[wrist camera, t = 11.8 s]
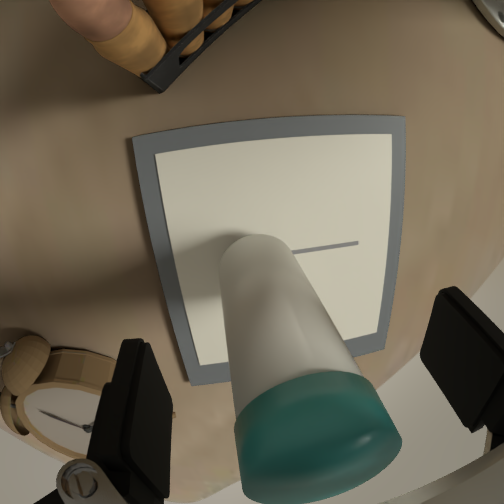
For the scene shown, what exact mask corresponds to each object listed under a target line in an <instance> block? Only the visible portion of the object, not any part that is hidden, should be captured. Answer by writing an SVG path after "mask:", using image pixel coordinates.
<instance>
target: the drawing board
mask: <svg viewBox="0 0 504 504" xmlns="http://www.w3.org/2000/svg"><path fill="white" fill-rule="evenodd" d="M132 140H133V147H134V153H135V160H136V166H137V171H138V177H139V183H140V188H141V194H142V199H143V204H144V209H145V214H146V219H147V224H148V228H149V233H150V237H151V242H152V246H153V251H154V255H155V259H156V264H157V268H158V272H159V276H160V280H161V284H162V288H163V292H164V296H165V299H166V303H167V307H168V310H169V314H170V318H171V321H172V325H173V328H174V332H175V335H176V339H177V342H178V345H179V349H180V352H181V355H182V358H183V362H184V365H185V368H186V371H187V374H188V377H189V380H190V383H191V386H197V385H206V384H214V383H222V382H229V381H231V376H230V368H229V360H228V352H227V344H226V335H225V327H224V318H223V309H222V300H221V290H220V281H219V264H220V261H221V258H222V256H223V254H224V253H225V251H226V250H227V249H228V248H229V247H230V246H231V245H232V244H233V243H234V242H236V241H237V240H239V239H241V238H243V237H246V236H249V235H254V234H266V235H271V236H274V237H276V238H278V239H280V240H282V241H283V242H284V243H285V244H286V245H287V246H288V247H289V248H290V250H291V251H292V253H293V255H294V256H295V258H296V260H297V261H298V263H299V265H300V266H301V268H302V270H303V271H304V273H305V275H306V276H307V278H308V280H309V282H310V283H311V285H312V287H313V288H314V290H315V292H316V294H317V295H318V297H319V299H320V300H321V302H322V304H323V306H324V307H325V309H326V311H327V313H328V314H329V316H330V318H331V319H332V321H333V323H334V325H335V326H336V328H337V330H338V332H339V334H340V335H341V337H342V339H343V341H344V342H345V344H346V346H347V348H348V349H349V351H350V353H351V355H352V357H357V356H361V355H365V354H368V353H372V352H376V351H379V350H383V349H384V347H385V342H386V338H387V332H388V327H389V322H390V316H391V310H392V304H393V298H394V292H395V285H396V278H397V270H398V262H399V254H400V244H401V234H402V222H403V209H404V191H405V161H406V129H405V116H390V115H312V116H291V117H275V118H262V119H251V120H240V121H231V122H222V123H214V124H207V125H199V126H192V127H186V128H179V129H173V130H167V131H161V132H156V133H150V134H145V135H140V136H135V137H132Z"/></svg>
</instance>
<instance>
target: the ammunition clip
mask: <svg viewBox="0 0 504 504" xmlns="http://www.w3.org/2000/svg"><path fill="white" fill-rule="evenodd" d="M49 1H50V3H51V5H52V7H53V8H54V10H55V11H56V12H57V14H58V15H59V16H60V17H61V18H62V20H63V21H64V22H65V23H67V24H68V25H69V26H70V27H71V28H72V29H73V30H74V31H76V32H77V33H79V34H81V35H82V36H83V37H84V38H85V39H86V40H87V41H89V42H90V43H91V44H92V45H93V47H94V48H95V49H96V51H97V52H98V53H99V54H100V55H101V56H102V57H104V58H106V59H107V60H109V61H111V62H113V63H115V64H117V65H119V66H121V67H122V68H124V69H126V70H128V71H130V72H132V73H133V74H135V75H137V76H138V77H140V78H141V79H142V80H143V81H145V82H146V83H147V84H148V85H149V86H151V87H152V88H153V89H154V90H156V91H157V92H158V93H159V94H160V93H163V92H164V91H165V90H166V89H167V88H168V87H169V86H170V85H171V84H172V83H173V81H174V80H175V79H176V78H177V77H178V76H179V75H180V74H181V73H182V72H183V71H184V70H185V69H186V68H187V67H188V66H189V65H190V64H191V63H192V62H193V61H194V60H195V59H196V58H197V57H198V56H199V55H200V54H201V53H202V52H203V51H204V50H205V49H206V48H207V47H208V46H209V45H211V44H212V43H213V42H214V41H215V40H216V39H217V38H218V37H219V36H220V35H221V34H222V33H224V32H225V31H226V30H227V29H228V28H229V27H230V26H232V25H233V24H234V23H235V22H236V21H237V20H238V19H240V18H241V17H242V16H243V15H244V14H246V13H247V12H248V11H249V10H250V9H252V8H253V7H254V6H255V5H257V4H258V3H259V2H260V1H262V0H142V1H143V3H144V5H145V6H146V8H147V10H146V11H145V10H144V9H142V8H141V7H138V6H136V5H134V4H133V3H132V1H131V0H49Z"/></svg>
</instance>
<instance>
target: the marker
mask: <svg viewBox="0 0 504 504" xmlns="http://www.w3.org/2000/svg"><path fill="white" fill-rule="evenodd" d="M219 281H220V290H221V300H222V309H223V318H224V327H225V335H226V344H227V352H228V360H229V368H230V376H231V384H232V392H233V399H234V407H235V414H236V422H235V426H234V433H235V441H236V448H237V455H238V462H239V469H240V476H241V483H242V489H243V492H244V494H245V495H246V496H247V497H248V498H249V499H251V500H253V501H256V502H259V503H262V504H304V503H310V502H315V501H319V500H323V499H327V498H330V497H333V496H336V495H339V494H341V493H344V492H346V491H348V490H351V489H353V488H355V487H357V486H358V485H361V484H363V483H364V482H366V481H368V480H369V479H371V478H373V477H374V476H376V475H377V474H378V473H380V472H381V471H382V470H383V469H385V468H386V467H387V466H388V465H389V464H390V463H391V462H392V461H393V460H394V458H395V457H396V456H397V454H398V453H399V451H400V449H401V446H402V438H401V436H400V435H399V433H398V431H397V429H396V427H395V425H394V423H393V422H392V420H391V418H390V416H389V414H388V413H387V410H386V409H385V407H384V405H383V403H382V401H381V400H380V398H379V396H378V394H377V392H376V390H375V389H374V387H373V385H372V384H371V383H370V382H369V380H367V379H366V378H364V376H363V375H362V373H361V371H360V369H359V367H358V366H357V364H356V362H355V360H354V358H353V357H352V355H351V353H350V351H349V349H348V348H347V346H346V344H345V342H344V341H343V339H342V337H341V335H340V334H339V332H338V330H337V328H336V326H335V325H334V323H333V321H332V319H331V318H330V316H329V314H328V313H327V311H326V309H325V307H324V306H323V304H322V302H321V300H320V299H319V297H318V295H317V294H316V292H315V290H314V288H313V287H312V285H311V283H310V282H309V280H308V278H307V276H306V275H305V273H304V271H303V270H302V268H301V266H300V265H299V263H298V261H297V260H296V258H295V256H294V255H293V253H292V251H291V250H290V248H289V247H288V246H287V245H286V244H285V243H284V242H283V241H282V240H280V239H278V238H276V237H274V236H271V235H266V234H254V235H249V236H246V237H243V238H241V239H239V240H237V241H236V242H234V243H233V244H232V245H231V246H230V247H229V248H228V249H227V250H226V251H225V253H224V254H223V256H222V258H221V261H220V264H219Z"/></svg>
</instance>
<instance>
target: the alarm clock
mask: <svg viewBox="0 0 504 504" xmlns="http://www.w3.org/2000/svg"><path fill="white" fill-rule="evenodd" d="M4 345H5V347H0V358H2V357H4V356H5V358H4V360H3V364H2V378H3V381H4V384H5V387H4V388H3V390H2V393H1V392H0V410H1V414H2V417H3V419H4V421H5V423H6V424H7V426H8V427H9V428H10V429H11V430H12V431H13V432H15V433H17V434H20V435H24V436H25V435H28V434H29V432H30V433H32V434H33V435H34V436H35V437H36V438H37V439H38V440H39V441H41V442H42V443H44V444H46V445H47V446H49V447H50V448H52V449H54V450H55V451H58V452H60V453H62V454H65V455H67V456H69V457H72V458H75V459H80V458H83V459H86V455H87V451H88V446H89V441H90V437H91V433H92V428H93V424H94V420H95V416H96V412H97V408H98V404H99V400H100V396H101V392H102V389H103V386H104V384H105V383H106V382H111V380H112V377H113V373H114V369H115V365H116V362H117V361H116V360H114V359H112V358H109V357H106V356H102V355H99V354H95V353H92V352H89V351H81V350H69V349H61V350H55V351H50V350H51V349H50V344H49V343H48V342H47V341H46V340H44V339H43V338H41V337H39V336H34V335H31V336H25V337H23V338H21V339H19V340H18V341H16V342H14V343H11V342H9V341H7V342H6V343H5V344H4ZM175 417H176V415H175V412H173V414H172V418H175Z"/></svg>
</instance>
